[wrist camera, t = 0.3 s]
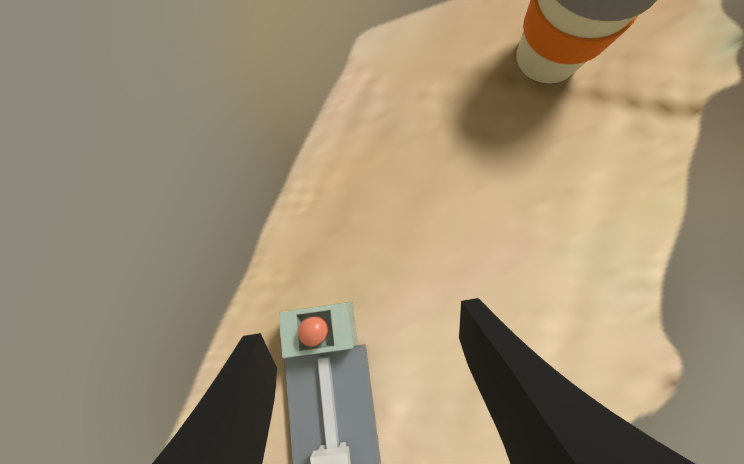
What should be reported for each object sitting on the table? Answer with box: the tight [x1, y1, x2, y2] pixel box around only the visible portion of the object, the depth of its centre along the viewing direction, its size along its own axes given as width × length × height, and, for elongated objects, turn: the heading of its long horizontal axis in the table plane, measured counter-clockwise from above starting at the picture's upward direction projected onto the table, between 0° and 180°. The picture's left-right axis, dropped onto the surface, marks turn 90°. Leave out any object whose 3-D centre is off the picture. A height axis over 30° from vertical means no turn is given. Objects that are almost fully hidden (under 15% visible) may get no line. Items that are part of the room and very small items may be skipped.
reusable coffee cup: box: [516, 0, 657, 84], centre depth 38 cm, size 13×13×15 cm
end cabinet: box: [279, 302, 357, 358], centre depth 38 cm, size 5×8×5 cm, turn 98°
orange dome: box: [298, 316, 329, 347], centre depth 35 cm, size 3×3×2 cm
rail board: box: [285, 345, 381, 464], centre depth 36 cm, size 18×10×3 cm, turn 8°
